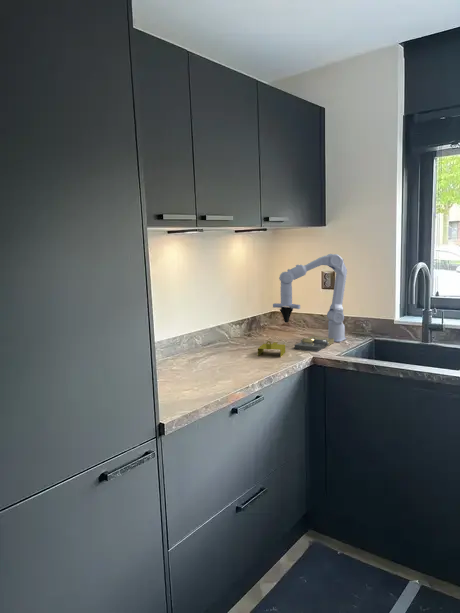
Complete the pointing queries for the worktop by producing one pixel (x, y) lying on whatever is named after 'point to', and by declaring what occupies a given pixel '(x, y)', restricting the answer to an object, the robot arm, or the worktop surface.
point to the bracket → (272, 347)
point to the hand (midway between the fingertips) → (286, 322)
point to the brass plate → (311, 339)
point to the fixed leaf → (312, 345)
